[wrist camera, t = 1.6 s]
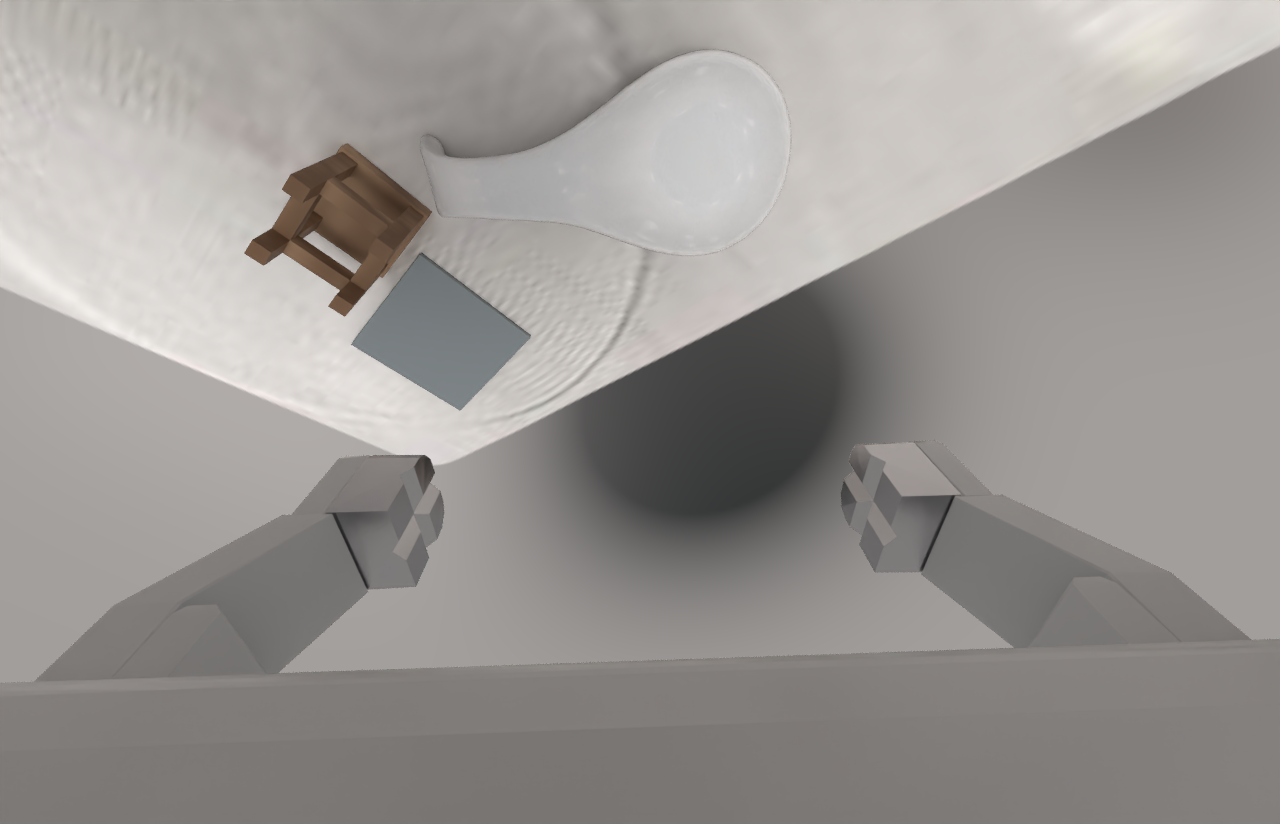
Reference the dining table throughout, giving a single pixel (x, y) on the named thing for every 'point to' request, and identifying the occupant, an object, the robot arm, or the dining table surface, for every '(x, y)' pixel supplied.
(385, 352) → the felt mat
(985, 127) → the dining table surface
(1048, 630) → the robot arm
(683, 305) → the dining table surface
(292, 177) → the stool
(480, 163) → the spoon rest
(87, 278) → the dining table surface
